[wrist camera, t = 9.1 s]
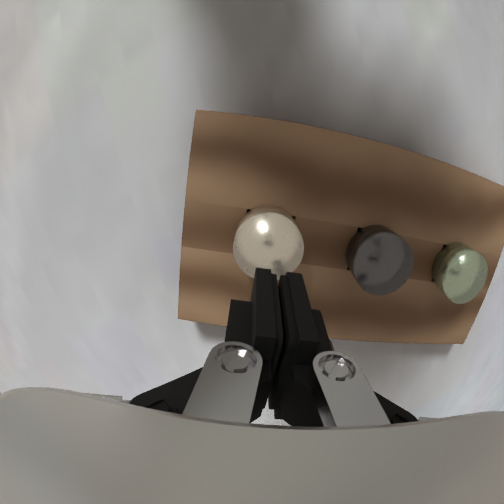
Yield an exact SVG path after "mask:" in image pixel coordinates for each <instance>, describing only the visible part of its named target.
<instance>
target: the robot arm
mask: <svg viewBox="0 0 504 504" xmlns="http://www.w3.org/2000/svg"><path fill="white" fill-rule="evenodd" d="M267 398H268V405H269V409H274V417H275V419H283V420H284V421H286V422H287V423H288V424H289V425H288V426H279V425H264V424H251V422H253V421H254V420H256V419H257V418H259V417H260V416H261V413H262V409H264V408H265V405H266V402H267ZM0 504H504V411H487V412H478V413H472V414H465V415H458V416H452V417H446V418H427V417H419V419H418V420H417V419H416V417H415V416H413V415H412V414H411V413H409V412H408V411H406V410H404V409H403V408H401V407H399V406H397V405H396V404H394V403H392V402H391V401H389V400H387V399H386V398H384V397H383V396H381V395H379V394H378V393H376V392H374V391H373V390H372V388H371V386H370V384H369V382H368V381H367V379H366V377H365V375H364V373H363V372H362V370H361V368H360V366H359V365H358V363H357V362H356V361H355V360H354V359H353V358H351V357H350V356H348V355H346V354H344V353H341V352H337V351H332V347H331V344H330V340H329V337H328V334H327V330H326V327H325V324H324V320H323V317H322V314H321V311H320V310H316V309H311V305H310V301H309V298H308V294H307V290H306V287H305V283H304V279H303V276H302V274H301V273H294V272H286V275H280V278H279V283H277V275H276V274H272V273H271V269H264V268H257V267H256V270H255V275H254V281H253V287H252V293H251V299H250V302H249V301H242V300H234V299H231V302H230V309H229V316H228V322H227V329H226V336H225V342H223V343H220V344H218V345H216V346H215V347H213V348H212V350H211V351H210V353H209V355H208V357H207V359H206V362H205V364H204V366H203V367H202V368H200V369H198V370H196V371H193V372H191V373H189V374H187V375H184V376H182V377H180V378H178V379H175V380H173V381H171V382H168V383H166V384H164V385H161V386H159V387H157V388H154V389H152V390H149V391H147V392H144V393H142V394H140V395H138V396H136V397H134V398H133V399H132V400H123V399H122V396H112V395H100V394H90V393H81V392H75V391H71V390H64V389H56V388H43V387H26V388H17V389H12V390H9V391H7V392H4V393H3V394H1V395H0Z"/></svg>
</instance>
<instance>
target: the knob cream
mask: <svg viewBox="0 0 504 504" xmlns="http://www.w3.org/2000/svg"><path fill="white" fill-rule="evenodd" d="M303 253H304V242H303V238H302V235H301V233H300V230H299V228H298V226H297V223H296V221H295V220H294V218H293V217H292V216H291V215H290V214H289V213H288V212H286V211H285V210H283V209H281V208H279V207H275V206H260V207H257V208H254V209H252V210H251V211H249V212H248V213H246V214H245V215H244V216H243V217H242V219H241V220H240V222H239V224H238V227H237V230H236V234H235V238H234V243H233V254H234V258H235V261H236V263H237V264H238V266H239V267H240V269H241V270H242V271H243V272H244V273H245V274H247V275H248V276H250V277H252V278H254V275H255V270H256V267H257V268H264V269H271V273H272V274H276V275H277V280H279V278H280V275H286V272H293V271H294V270H295V269H296V268H297V267H298V266H299V264H300V262H301V260H302V257H303Z"/></svg>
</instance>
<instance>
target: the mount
mask: <svg viewBox="0 0 504 504" xmlns="http://www.w3.org/2000/svg"><path fill="white" fill-rule="evenodd" d="M260 206H275V207H279V208H281V209H283V210H285V211H286V212H288V213H289V214H290V215H291V216H292V217H293V218H294V220H295V221H296V223H297V226H298V228H299V230H300V233H301V235H302V238H303V242H304V253H303V257H302V260H301V262H300V264H299V266H298V267H297V268H296V269H295V270H294V271H293V272H294V273H301V274H302V276H303V279H304V283H305V287H306V290H307V294H308V298H309V301H310V305H311V309H316V310H320V311H321V314H322V317H323V320H324V324H325V327H326V330H327V334H328V337H329V338H331V339H344V340H358V341H374V342H394V343H426V344H463V343H464V341H465V339H466V337H467V335H468V333H469V331H470V329H471V327H472V325H473V323H474V321H475V318H476V316H477V314H478V312H479V309H480V307H481V305H482V303H483V300H484V298H485V295H486V293H487V290H488V288H489V285H490V283H491V280H492V278H493V275H494V272H495V269H496V267H497V264H498V261H499V258H500V255H501V252H502V249H503V246H504V186H502V185H499V184H497V183H495V182H493V181H490V180H488V179H486V178H483V177H481V176H478V175H476V174H473V173H471V172H468V171H466V170H463V169H461V168H458V167H455V166H453V165H450V164H447V163H444V162H442V161H439V160H436V159H433V158H430V157H427V156H424V155H421V154H418V153H415V152H412V151H408V150H405V149H402V148H399V147H395V146H392V145H388V144H385V143H381V142H378V141H374V140H370V139H366V138H362V137H358V136H354V135H350V134H346V133H342V132H338V131H333V130H329V129H324V128H319V127H314V126H309V125H304V124H299V123H293V122H288V121H282V120H276V119H269V118H263V117H256V116H249V115H241V114H233V113H224V112H214V111H203V110H196V114H195V121H194V128H193V136H192V143H191V151H190V160H189V169H188V178H187V188H186V198H185V209H184V220H183V233H182V247H181V262H180V281H179V303H178V319H183V320H189V321H195V322H201V323H207V324H213V325H220V326H227V322H228V316H229V309H230V302H231V299H234V300H242V301H249V302H250V299H251V293H252V287H253V281H254V278H252V277H250V276H248V275H247V274H245V273H244V272H243V271H242V270H241V269H240V267H239V266H238V264H237V263H236V261H235V258H234V254H233V243H234V238H235V234H236V230H237V227H238V224H239V222H240V220H241V219H242V217H243V216H244V215H245V214H246V213H247V209H254V208H257V207H260ZM370 225H383V226H386V227H388V228H389V229H391V230H392V231H393V232H395V233H396V234H397V235H398V236H400V237H401V238H402V239H403V240H405V241H406V242H407V243H408V245H409V246H410V248H411V250H412V253H413V259H414V261H413V268H412V272H411V274H410V276H409V278H408V279H407V281H406V282H405V283H404V284H403V285H402V286H401V287H400V288H399V289H398V290H396V291H394V292H392V293H390V294H387V295H381V296H378V295H372V294H369V293H367V292H366V291H364V290H363V289H362V288H361V287H360V286H359V284H358V282H357V281H356V279H355V278H354V276H353V274H352V273H351V271H350V270H349V268H348V265H347V262H346V250H347V247H348V244H349V242H350V240H351V239H352V237H353V236H354V235H355V234H356V232H357V228H358V227H361V228H364V227H367V226H370ZM454 242H461V243H464V244H465V245H467V246H469V247H470V248H472V249H473V250H475V251H476V252H478V253H479V254H481V255H482V256H483V257H484V258H485V260H486V262H487V267H488V273H487V278H486V281H485V284H484V286H483V288H482V289H481V291H480V292H479V293H478V295H477V296H476V297H475V298H473V299H472V300H471V301H469V302H467V303H464V304H456V303H454V302H452V301H451V300H450V299H449V298H448V297H447V296H446V295H445V294H444V293H443V292H442V291H441V290H440V289H439V288H438V287H437V286H436V284H435V283H434V280H433V276H432V271H433V265H434V262H435V260H436V258H437V256H438V254H439V253H440V252H441V251H442V248H443V244H446V245H449V244H451V243H454ZM277 283H279V280H277Z"/></svg>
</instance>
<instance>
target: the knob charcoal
mask: <svg viewBox="0 0 504 504" xmlns="http://www.w3.org/2000/svg"><path fill="white" fill-rule="evenodd" d="M413 261H414V259H413V253H412V250H411V248H410V246H409V245H408V243H407V242H406V241H405V240H403V239H402V238H401V237H400V236H398V235H397V234H396V233H395V232H393V231H392V230H391V229H389V228H388V227H386V226H383V225H370V226H367V227H364V228H361V227H360V228H358V229H357V232H356V234H355V235H354V236H353V237H352V239H351V240H350V242H349V244H348V247H347V250H346V262H347V265H348V268H349V270H350V271H351V273H352V274H353V276H354V278H355V279H356V281H357V282H358V284H359V286H360V287H361V288H362V289H363V290H364V291H366V292H367V293H369V294H372V295H378V296H381V295H387V294H390V293H392V292H394V291H396V290H398V289H399V288H400V287H401V286H402V285H403V284H404V283H405V282H406V281H407V279H408V278H409V276H410V274H411V272H412V268H413Z"/></svg>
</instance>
